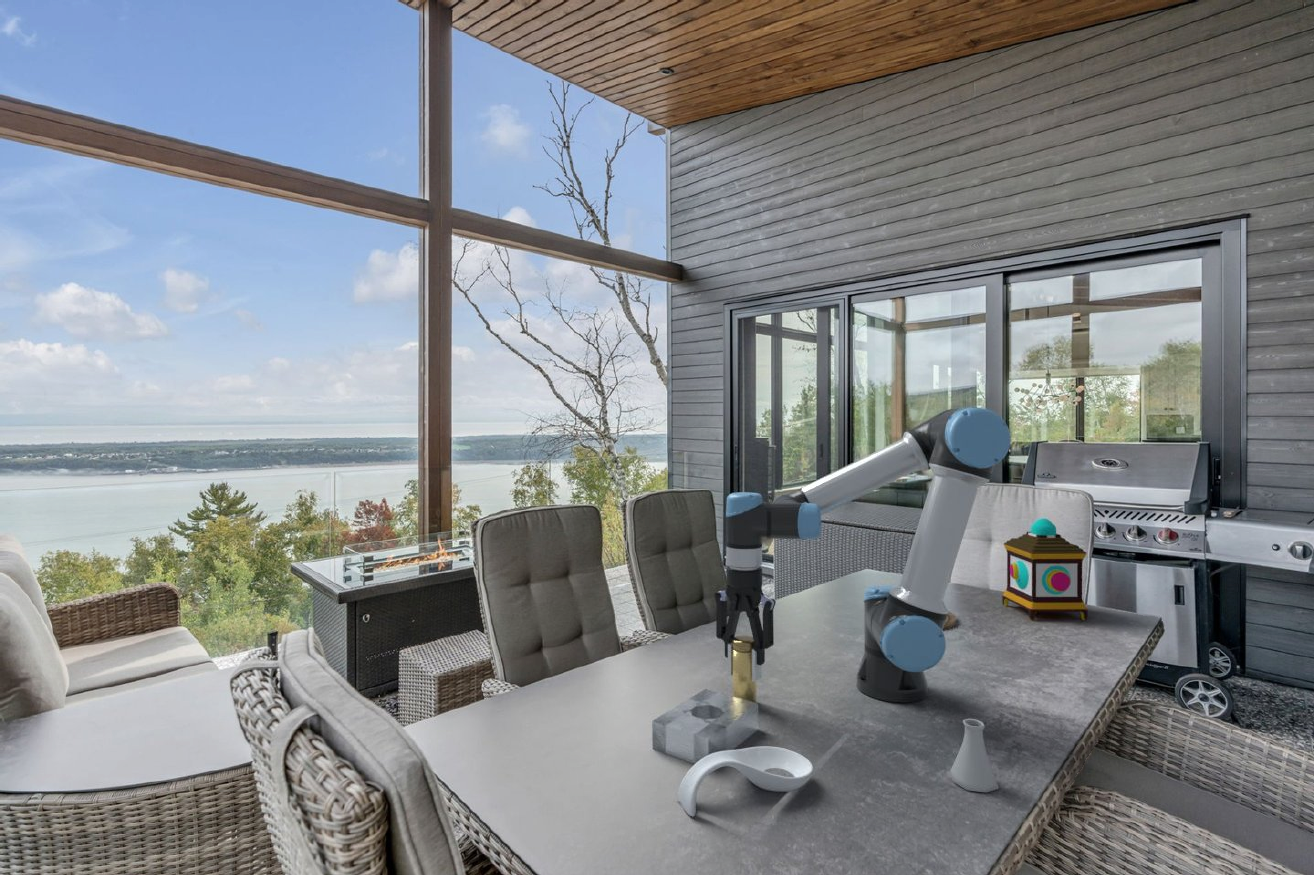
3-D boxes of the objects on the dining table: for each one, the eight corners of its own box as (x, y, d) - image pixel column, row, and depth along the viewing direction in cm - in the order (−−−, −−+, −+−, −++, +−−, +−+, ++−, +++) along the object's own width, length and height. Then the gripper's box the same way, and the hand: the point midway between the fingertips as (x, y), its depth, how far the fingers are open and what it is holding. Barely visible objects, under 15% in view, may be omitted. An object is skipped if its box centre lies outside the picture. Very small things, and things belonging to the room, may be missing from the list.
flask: (941, 771, 113) (941, 714, 113) (982, 769, 114) (982, 712, 113) (964, 795, 106) (964, 733, 106) (1007, 793, 106) (1007, 731, 106)
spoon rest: (782, 760, 118) (782, 720, 118) (828, 792, 107) (828, 748, 107) (666, 794, 107) (666, 751, 107) (704, 834, 96) (704, 785, 96)
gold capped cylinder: (760, 699, 139) (760, 638, 139) (749, 707, 135) (749, 645, 135) (740, 694, 142) (739, 634, 142) (728, 701, 138) (728, 640, 138)
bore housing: (758, 734, 127) (758, 703, 127) (708, 774, 113) (708, 739, 112) (705, 718, 134) (705, 688, 134) (652, 753, 120) (652, 720, 120)
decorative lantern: (1095, 622, 198) (1096, 522, 197) (1029, 622, 198) (1029, 523, 197) (1056, 604, 218) (1056, 513, 217) (995, 604, 218) (996, 514, 217)
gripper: (791, 568, 136) (791, 680, 136) (716, 558, 147) (717, 662, 147) (775, 575, 130) (775, 692, 130) (698, 564, 141) (698, 672, 141)
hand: (744, 675), depth 139 cm, fingers closed on gold capped cylinder, 5 cm apart
